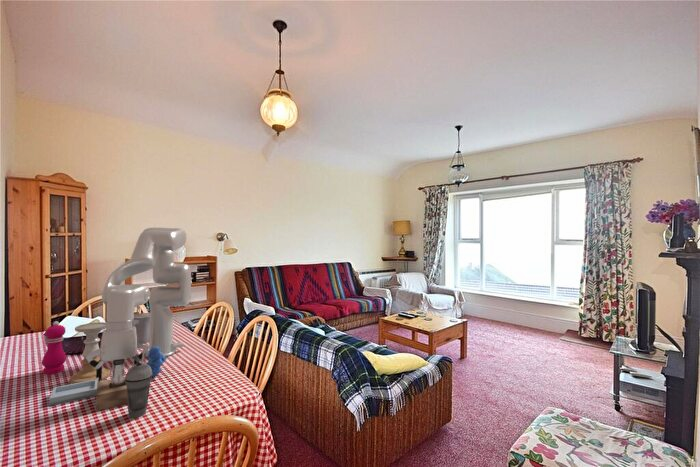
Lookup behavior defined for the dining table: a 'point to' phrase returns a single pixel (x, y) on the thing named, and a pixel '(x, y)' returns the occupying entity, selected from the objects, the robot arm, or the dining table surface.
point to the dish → (73, 392)
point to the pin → (118, 373)
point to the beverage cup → (138, 388)
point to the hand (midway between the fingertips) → (117, 375)
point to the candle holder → (90, 346)
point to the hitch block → (110, 395)
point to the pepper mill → (54, 350)
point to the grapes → (156, 360)
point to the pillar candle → (142, 327)
